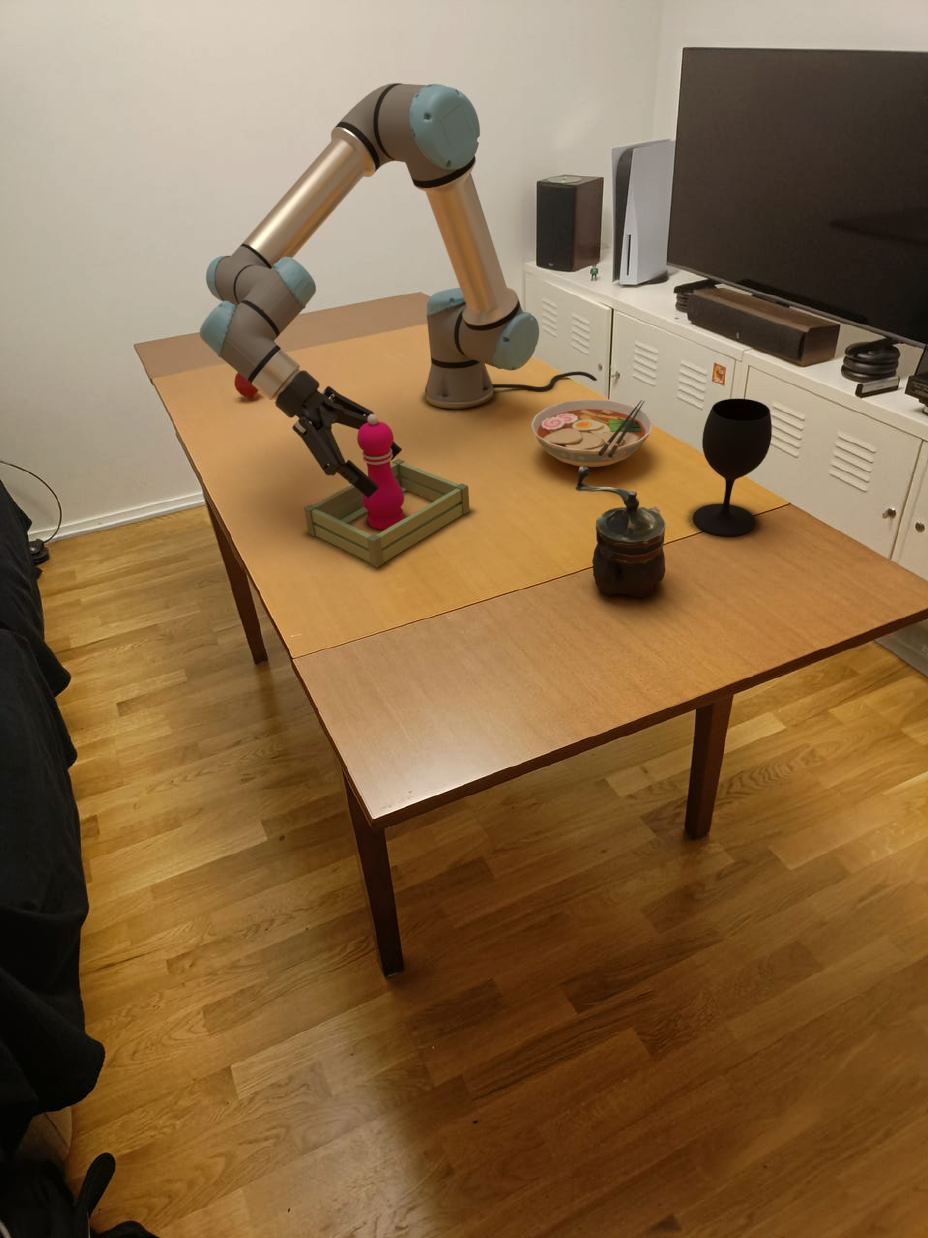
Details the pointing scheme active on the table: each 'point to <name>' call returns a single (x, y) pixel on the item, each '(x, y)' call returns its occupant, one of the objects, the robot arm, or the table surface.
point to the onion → (245, 386)
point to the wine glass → (733, 459)
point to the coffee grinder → (627, 545)
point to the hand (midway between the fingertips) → (386, 473)
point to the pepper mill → (380, 474)
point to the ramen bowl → (591, 431)
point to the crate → (347, 506)
